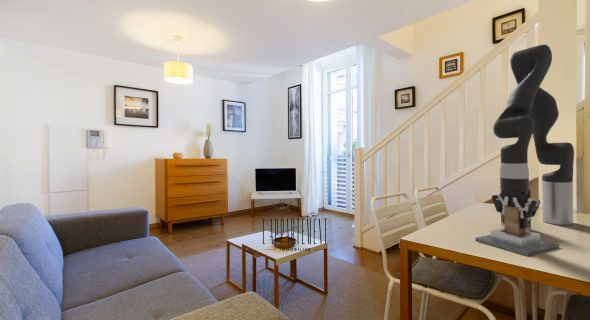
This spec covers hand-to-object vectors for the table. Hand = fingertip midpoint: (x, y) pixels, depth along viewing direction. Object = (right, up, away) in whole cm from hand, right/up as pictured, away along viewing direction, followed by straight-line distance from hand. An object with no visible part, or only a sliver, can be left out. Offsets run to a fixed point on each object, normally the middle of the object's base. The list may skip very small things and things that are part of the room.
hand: (514, 227), depth 92 cm
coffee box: (+14, -5, +17) cm, 23 cm away
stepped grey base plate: (0, -6, 0) cm, 6 cm away
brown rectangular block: (0, -3, 0) cm, 3 cm away
